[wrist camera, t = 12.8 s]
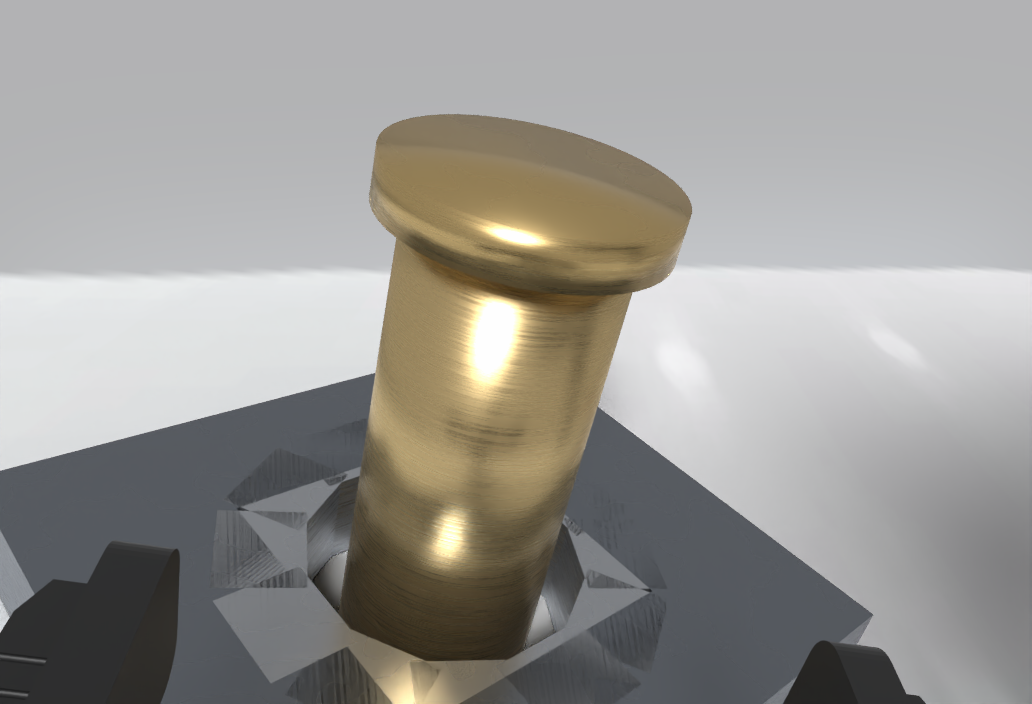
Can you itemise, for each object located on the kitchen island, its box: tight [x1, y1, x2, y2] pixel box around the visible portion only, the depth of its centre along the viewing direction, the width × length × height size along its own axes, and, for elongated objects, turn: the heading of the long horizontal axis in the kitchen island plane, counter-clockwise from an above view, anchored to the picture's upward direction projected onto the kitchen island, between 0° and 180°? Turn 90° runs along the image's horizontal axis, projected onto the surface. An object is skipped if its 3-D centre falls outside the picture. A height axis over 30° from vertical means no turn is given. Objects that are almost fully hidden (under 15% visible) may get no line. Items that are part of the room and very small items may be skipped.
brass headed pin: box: [338, 114, 692, 661], centre depth 20 cm, size 6×6×12 cm
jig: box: [0, 373, 873, 704], centre depth 22 cm, size 16×14×2 cm
